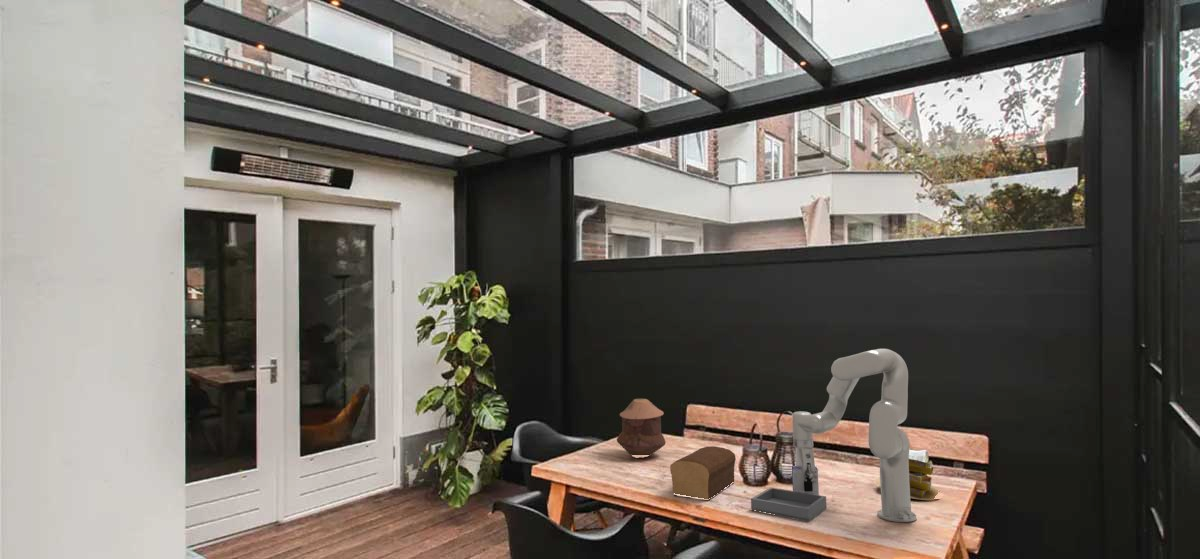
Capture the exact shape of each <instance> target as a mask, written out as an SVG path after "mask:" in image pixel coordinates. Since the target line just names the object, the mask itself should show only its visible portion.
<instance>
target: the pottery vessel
mask: <svg viewBox="0 0 1200 559" xmlns="http://www.w3.org/2000/svg"><path fill="white" fill-rule="evenodd" d="M663 415H664V411H663V410H661V409H660V408H658V407H657V406H656V405H655V404H653V402H651V401H650V400H649V399H647V398H634V399H632V401H631V402H630V403H629V404H628V406H627V407H626V408H625V409H624V410H623V411H621V412H620V413H619V417H621V420H622V421H621V426H622V428H621V429H622V431H621V432H620V433H619V435H618V436H617V438H616V442H617V444H619V445H620V446H621V447H622V448H623V449H624V450H625V451H626V453H628V454H630V455H631V454H632V455H650V454H651V455H653V454H654V453H657V451H659V450H660V449H662V448H663V447H664V446H665V445H666V439H665V437H664V434H663V433H662V421H661V420H662V418H661V417H663ZM651 455H650V456H651Z"/></svg>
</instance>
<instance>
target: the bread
mask: <svg viewBox="0 0 1200 559" xmlns="http://www.w3.org/2000/svg"><path fill="white" fill-rule="evenodd" d="M735 464H736V454H735V453H734V452H733V451H732V450H731V449H728V448H725V447H722V446H721V447H720V446H713V445H712V446H705V447H701V448H699V449H696V450H695V451H693V453H690V454H687V455H686V456H682V457H681V458H679V459H676V460H675V461H674V462H673V463H671V464H670V468H669V469H670V470H669V471H670V474H671V483H672V494H673V493H675V494H680V495H686V496H691V497H698V498H704V499H709V498H711V497H713V496H714V495H716V494H717V493H719V492H720V491H721V490H723V489H724V488H725V487H727V486H728V485H730V484H731V483H732V482H734V483H735ZM719 494H720V493H719ZM716 496H717V495H716ZM713 498H714V497H713Z"/></svg>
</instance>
